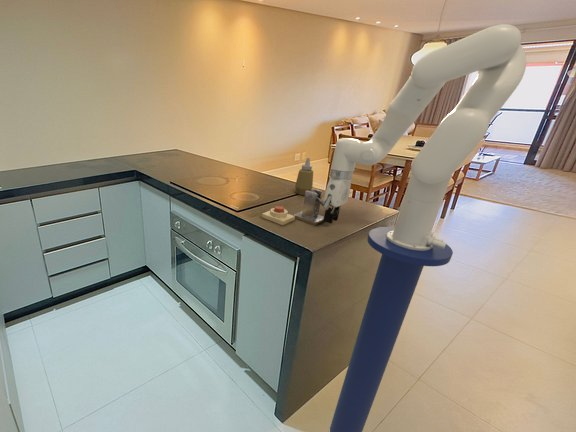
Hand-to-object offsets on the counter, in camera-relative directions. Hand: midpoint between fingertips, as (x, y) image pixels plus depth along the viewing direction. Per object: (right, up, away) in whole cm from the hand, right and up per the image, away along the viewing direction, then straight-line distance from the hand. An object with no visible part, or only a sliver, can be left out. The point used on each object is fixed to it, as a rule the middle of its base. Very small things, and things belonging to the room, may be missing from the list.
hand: (330, 220), depth 112 cm
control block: (-18, +1, +7) cm, 19 cm away
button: (-18, +3, +5) cm, 19 cm away
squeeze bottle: (+3, +13, +36) cm, 38 cm away
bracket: (-5, +1, +7) cm, 9 cm away
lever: (-3, +5, +2) cm, 6 cm away
